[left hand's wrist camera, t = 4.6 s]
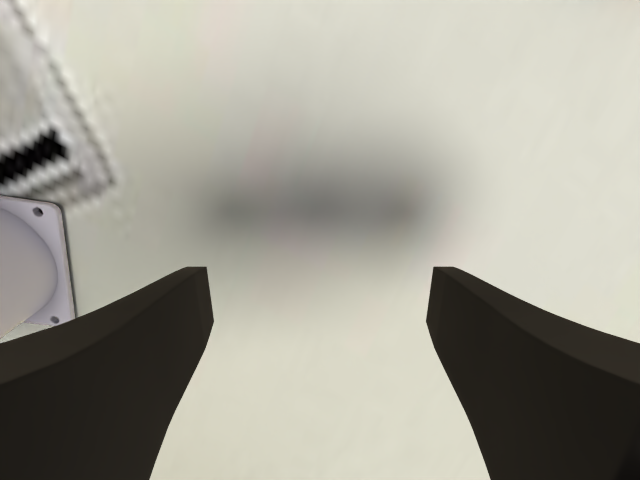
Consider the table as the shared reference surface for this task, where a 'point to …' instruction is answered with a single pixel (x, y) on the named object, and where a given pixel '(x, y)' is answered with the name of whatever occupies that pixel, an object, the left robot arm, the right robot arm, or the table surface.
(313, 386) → the table surface
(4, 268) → the left robot arm
